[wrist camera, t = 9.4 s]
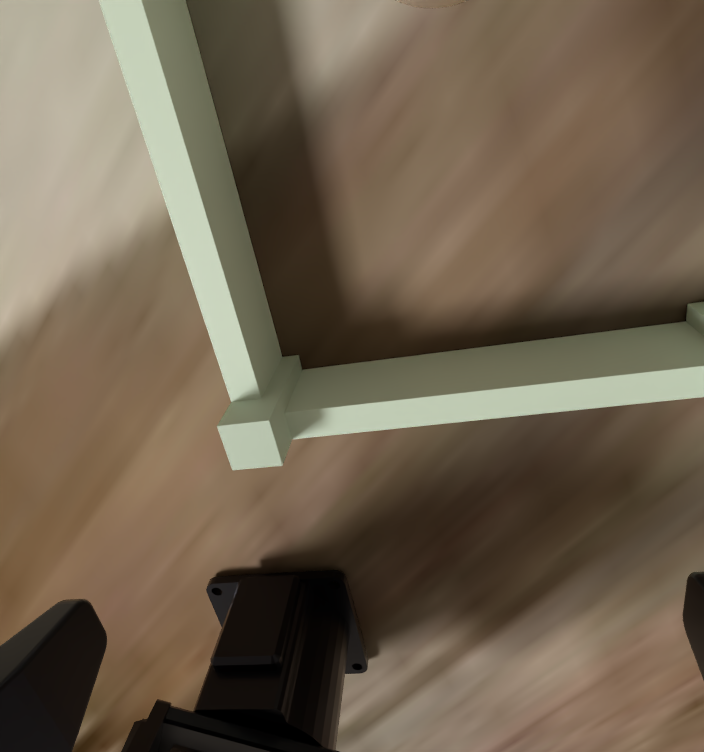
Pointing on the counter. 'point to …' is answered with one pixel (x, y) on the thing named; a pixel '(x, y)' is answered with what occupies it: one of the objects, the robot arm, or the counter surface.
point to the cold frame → (357, 380)
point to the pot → (431, 3)
